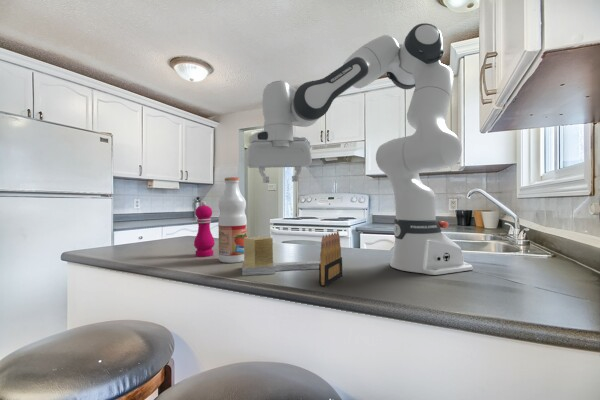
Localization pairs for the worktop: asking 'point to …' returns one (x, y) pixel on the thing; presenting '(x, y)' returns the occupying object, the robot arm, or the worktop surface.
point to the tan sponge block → (258, 251)
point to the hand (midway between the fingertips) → (281, 182)
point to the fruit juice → (232, 223)
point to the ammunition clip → (330, 260)
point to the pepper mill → (204, 231)
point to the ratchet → (278, 267)
